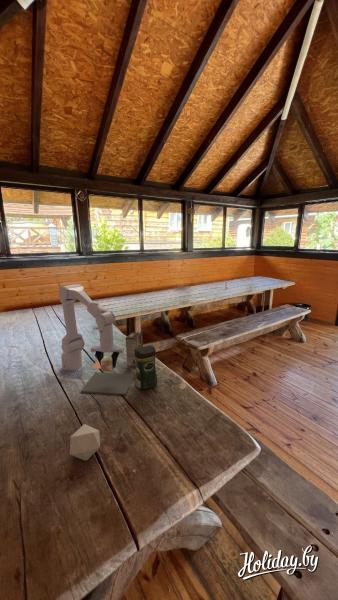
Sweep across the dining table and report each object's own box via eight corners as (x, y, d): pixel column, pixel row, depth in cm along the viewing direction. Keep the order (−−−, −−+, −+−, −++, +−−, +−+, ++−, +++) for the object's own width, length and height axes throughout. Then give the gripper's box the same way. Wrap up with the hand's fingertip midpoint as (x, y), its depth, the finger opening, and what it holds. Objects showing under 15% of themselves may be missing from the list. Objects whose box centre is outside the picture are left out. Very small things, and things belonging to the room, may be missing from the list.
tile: (91, 369, 126) (91, 368, 126) (98, 360, 136) (98, 359, 136) (109, 370, 125) (109, 369, 125) (116, 361, 135) (116, 360, 135)
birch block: (101, 371, 110) (100, 360, 108) (105, 365, 114) (104, 355, 113) (112, 371, 109) (111, 361, 108) (115, 366, 114) (115, 356, 113)
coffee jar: (151, 377, 118) (151, 341, 114) (159, 385, 111) (159, 347, 107) (133, 383, 113) (131, 346, 109) (139, 392, 107) (138, 352, 102)
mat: (80, 392, 106) (80, 390, 106) (95, 373, 122) (95, 372, 122) (125, 395, 104) (125, 393, 104) (134, 375, 120) (134, 374, 120)
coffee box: (132, 358, 138) (131, 331, 134) (143, 359, 137) (142, 332, 133) (126, 366, 129) (125, 337, 125) (138, 367, 128) (137, 338, 124)
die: (82, 440, 81) (62, 429, 75) (106, 427, 81) (87, 415, 75) (82, 468, 75) (60, 459, 69) (108, 454, 74) (87, 443, 68)
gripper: (125, 335, 111) (126, 363, 114) (94, 334, 113) (96, 361, 116) (120, 341, 104) (122, 370, 108) (87, 340, 106) (90, 369, 109)
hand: (108, 366), depth 111 cm, fingers closed on birch block, 5 cm apart
